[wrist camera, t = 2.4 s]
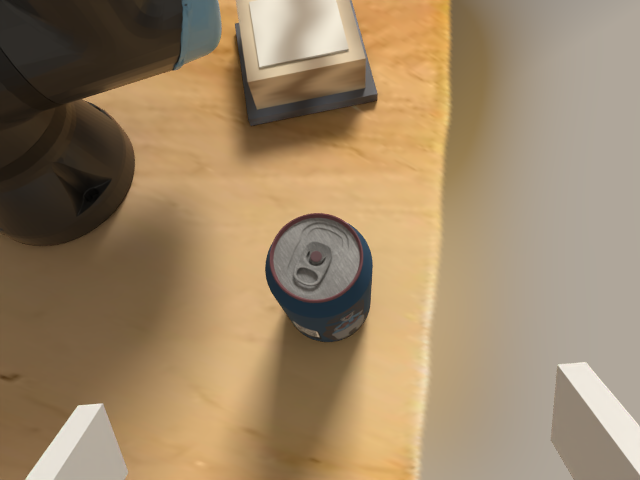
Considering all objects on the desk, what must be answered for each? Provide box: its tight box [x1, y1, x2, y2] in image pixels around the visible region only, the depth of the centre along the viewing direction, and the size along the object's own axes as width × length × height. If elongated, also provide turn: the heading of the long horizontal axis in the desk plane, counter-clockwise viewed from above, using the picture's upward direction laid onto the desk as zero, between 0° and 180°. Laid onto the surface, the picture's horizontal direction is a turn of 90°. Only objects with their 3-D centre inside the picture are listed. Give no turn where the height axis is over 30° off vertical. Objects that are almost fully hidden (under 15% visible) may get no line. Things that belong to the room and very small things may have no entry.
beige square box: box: [235, 0, 377, 126], centre depth 46 cm, size 13×13×5 cm
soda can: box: [265, 213, 373, 342], centre depth 33 cm, size 7×7×12 cm
